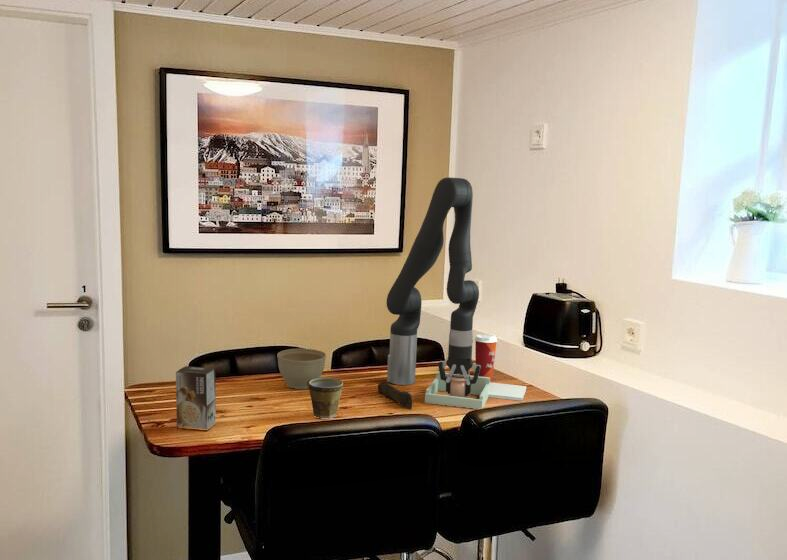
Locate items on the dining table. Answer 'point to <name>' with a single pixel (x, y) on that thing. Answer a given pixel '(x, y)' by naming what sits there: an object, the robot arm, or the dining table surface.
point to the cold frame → (476, 388)
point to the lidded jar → (457, 385)
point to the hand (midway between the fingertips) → (458, 394)
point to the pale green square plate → (506, 391)
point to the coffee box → (195, 397)
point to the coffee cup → (485, 353)
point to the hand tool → (396, 394)
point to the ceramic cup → (325, 396)
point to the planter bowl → (300, 366)
